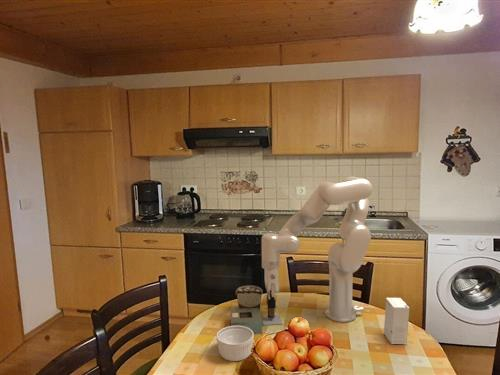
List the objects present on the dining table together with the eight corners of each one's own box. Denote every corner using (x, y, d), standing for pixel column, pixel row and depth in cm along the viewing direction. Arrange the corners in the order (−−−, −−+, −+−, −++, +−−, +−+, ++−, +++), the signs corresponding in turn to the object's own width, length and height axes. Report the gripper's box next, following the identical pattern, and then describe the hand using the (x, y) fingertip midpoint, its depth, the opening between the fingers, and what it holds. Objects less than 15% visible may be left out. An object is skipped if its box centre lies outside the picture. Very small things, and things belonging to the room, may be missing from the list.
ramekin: (212, 347, 130) (211, 329, 129) (245, 339, 135) (245, 322, 135) (224, 367, 118) (223, 348, 117) (260, 358, 123) (259, 339, 123)
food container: (264, 306, 164) (263, 285, 162) (263, 312, 157) (263, 290, 156) (237, 305, 165) (237, 284, 164) (235, 311, 159) (235, 290, 158)
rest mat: (279, 315, 154) (279, 314, 154) (282, 324, 146) (282, 323, 146) (260, 316, 153) (260, 315, 153) (263, 325, 146) (263, 324, 145)
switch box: (259, 318, 151) (259, 307, 151) (262, 333, 140) (262, 320, 139) (230, 320, 150) (230, 308, 150) (231, 335, 139) (231, 322, 138)
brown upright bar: (274, 314, 151) (273, 285, 150) (275, 318, 148) (274, 287, 147) (267, 315, 151) (266, 285, 150) (268, 318, 148) (267, 288, 147)
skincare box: (383, 334, 138) (384, 296, 136) (399, 333, 138) (400, 296, 136) (391, 345, 129) (393, 306, 128) (408, 345, 129) (409, 306, 128)
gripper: (283, 269, 139) (283, 314, 141) (276, 257, 156) (277, 297, 158) (264, 270, 139) (264, 315, 141) (259, 257, 155) (260, 298, 157)
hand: (271, 305), depth 149 cm, fingers closed on brown upright bar, 3 cm apart
